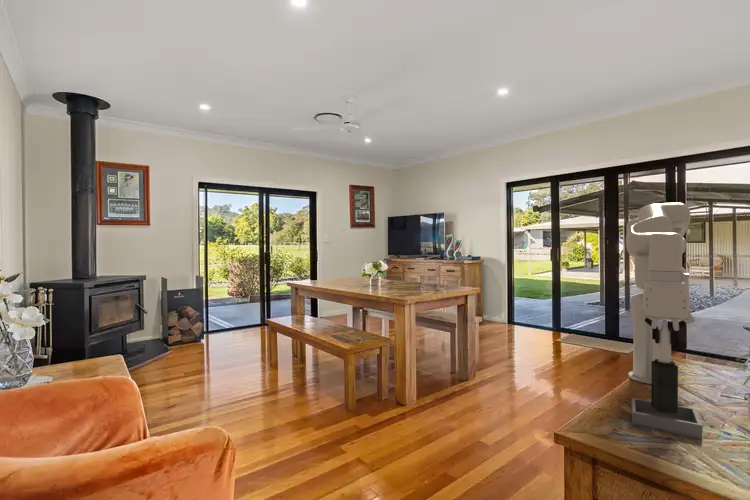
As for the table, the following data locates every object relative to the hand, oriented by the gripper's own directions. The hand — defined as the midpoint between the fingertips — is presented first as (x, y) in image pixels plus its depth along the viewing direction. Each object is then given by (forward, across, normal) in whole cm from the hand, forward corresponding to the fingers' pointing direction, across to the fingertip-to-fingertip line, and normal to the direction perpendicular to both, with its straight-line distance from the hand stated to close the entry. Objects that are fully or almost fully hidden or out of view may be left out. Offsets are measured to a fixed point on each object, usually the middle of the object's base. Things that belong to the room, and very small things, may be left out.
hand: (664, 342), depth 110 cm
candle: (+19, 0, 0) cm, 19 cm away
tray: (+23, 0, 0) cm, 23 cm away
